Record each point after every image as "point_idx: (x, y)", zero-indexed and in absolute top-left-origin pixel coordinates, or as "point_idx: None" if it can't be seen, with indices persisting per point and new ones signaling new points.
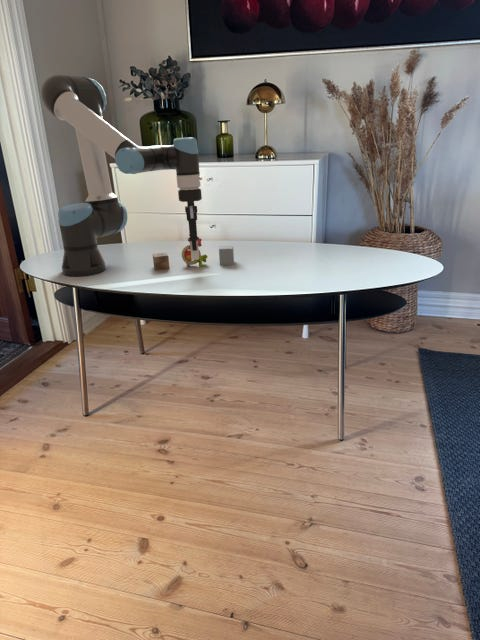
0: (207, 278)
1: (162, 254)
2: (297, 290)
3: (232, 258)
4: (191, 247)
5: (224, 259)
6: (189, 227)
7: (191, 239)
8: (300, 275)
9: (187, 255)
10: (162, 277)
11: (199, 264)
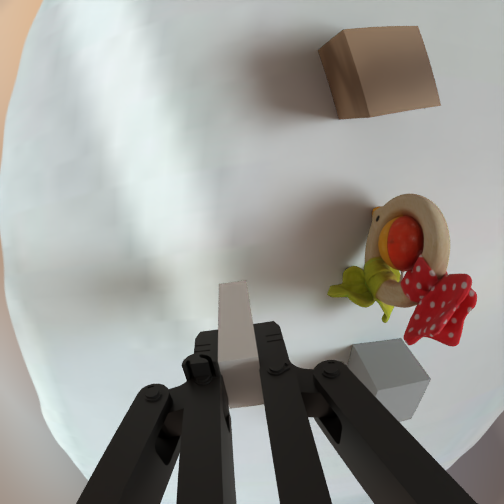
0: (148, 319)
1: (403, 80)
2: (86, 472)
3: None
4: (220, 335)
5: (356, 374)
6: (90, 485)
7: (143, 398)
8: None
9: (389, 232)
10: (172, 104)
11: (356, 272)
